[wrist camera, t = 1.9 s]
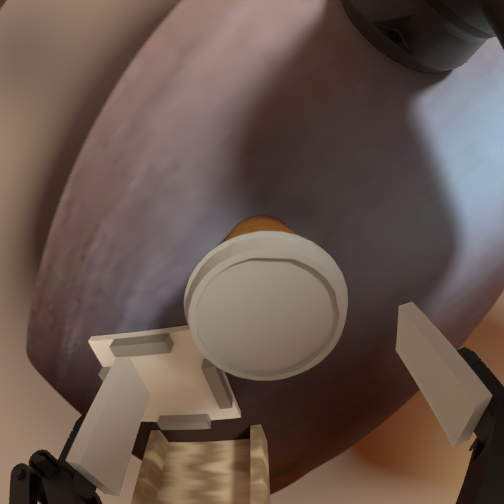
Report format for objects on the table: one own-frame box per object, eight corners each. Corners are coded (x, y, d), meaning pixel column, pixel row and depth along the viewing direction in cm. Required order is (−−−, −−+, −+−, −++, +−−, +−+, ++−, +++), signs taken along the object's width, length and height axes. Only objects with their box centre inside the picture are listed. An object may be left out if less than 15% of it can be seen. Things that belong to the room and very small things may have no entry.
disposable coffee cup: (229, 307, 29) (219, 398, 17) (193, 217, 25) (149, 272, 14) (323, 279, 28) (363, 360, 16) (297, 183, 24) (335, 213, 13)
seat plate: (206, 322, 29) (203, 336, 27) (240, 411, 34) (240, 426, 32) (91, 336, 30) (82, 348, 28) (141, 416, 35) (136, 429, 33)
